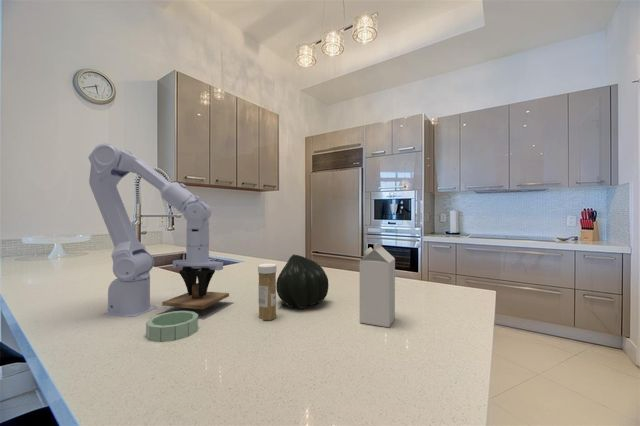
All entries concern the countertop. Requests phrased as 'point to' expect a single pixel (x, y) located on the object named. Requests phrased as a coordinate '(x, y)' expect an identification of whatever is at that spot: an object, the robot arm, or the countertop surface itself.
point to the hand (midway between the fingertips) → (197, 295)
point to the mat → (202, 312)
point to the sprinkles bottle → (267, 291)
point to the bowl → (171, 325)
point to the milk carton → (377, 287)
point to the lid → (195, 299)
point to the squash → (302, 282)
